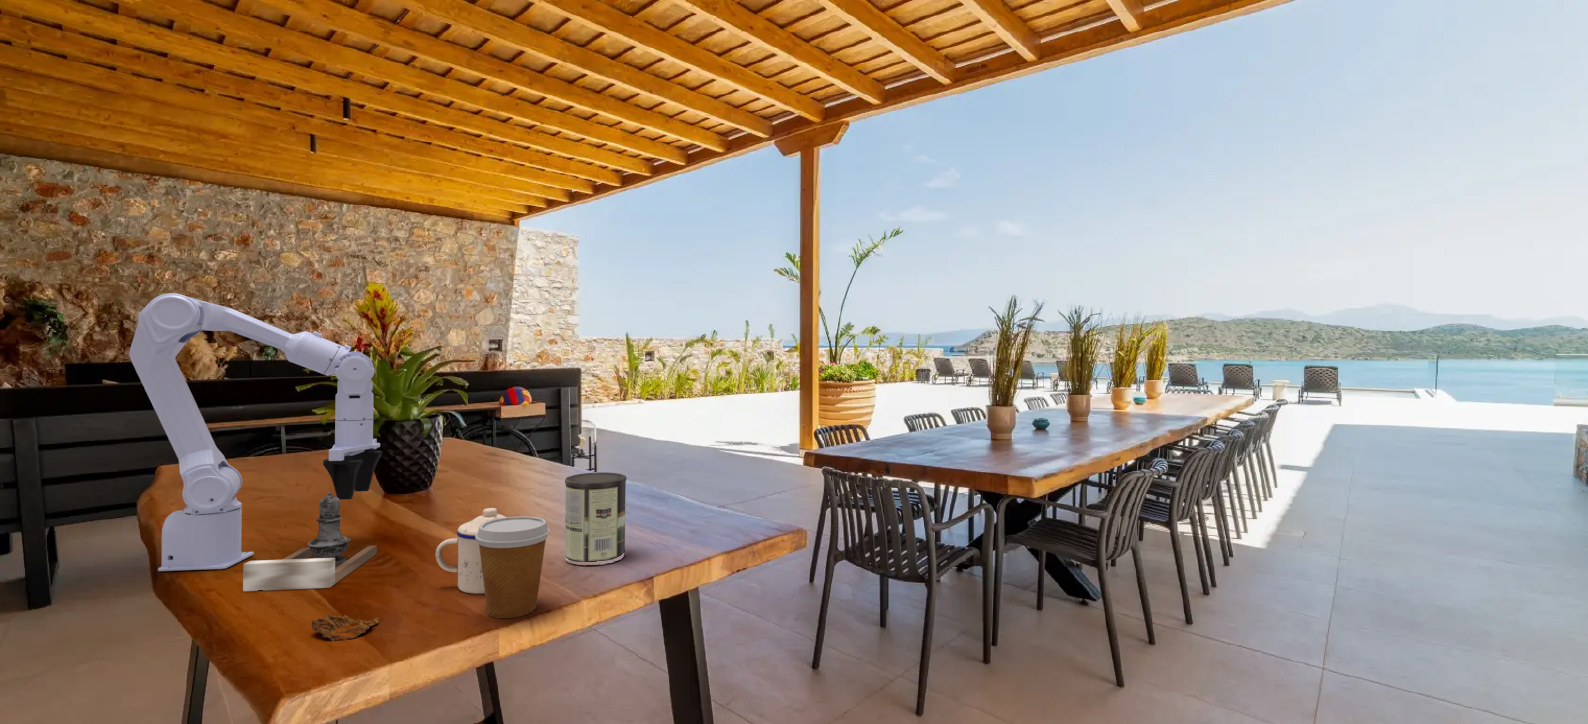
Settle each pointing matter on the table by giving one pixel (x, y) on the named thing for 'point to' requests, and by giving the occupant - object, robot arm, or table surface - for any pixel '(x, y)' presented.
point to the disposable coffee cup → (512, 563)
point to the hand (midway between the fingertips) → (353, 495)
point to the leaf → (335, 622)
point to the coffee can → (595, 517)
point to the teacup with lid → (468, 554)
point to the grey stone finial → (329, 531)
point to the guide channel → (300, 571)
